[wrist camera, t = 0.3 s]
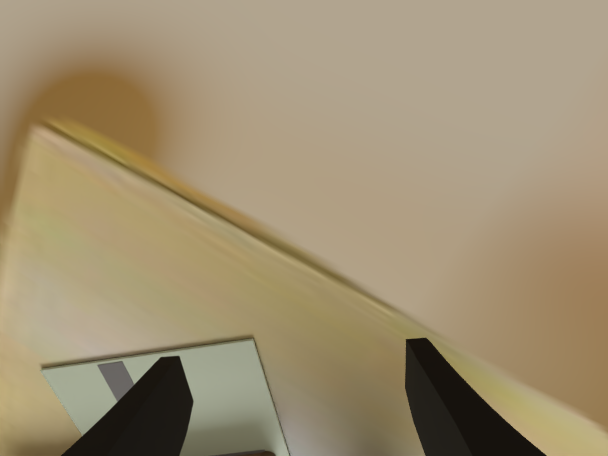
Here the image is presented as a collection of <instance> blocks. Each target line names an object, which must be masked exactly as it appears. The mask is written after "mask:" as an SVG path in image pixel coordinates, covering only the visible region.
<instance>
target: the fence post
mask: <svg viewBox="0 0 608 456" xmlns="http://www.w3.org/2000/svg"><path fill="white" fill-rule="evenodd" d="M238 456H276V455H275V454H274V453H273V452H271V451H265V452H262V453H256V454H247V455H238Z"/></svg>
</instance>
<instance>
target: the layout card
mask: <svg viewBox="0 0 608 456" xmlns="http://www.w3.org/2000/svg"><path fill="white" fill-rule="evenodd" d="M167 356H180V359H181V362H182V366H183V369H184V372H185V375H186V378H187V382H188V385H189V388H190V391H191V394H192V398H193V401H194V403H193V408H192V412H191V417H190V422H189V426H188V430H187V434H186V438H185V441H184V444H183V447H182V450H181V453H180V455H179V456H238V455H247V454H256V453H262V452H265V451H271V452H273V453H274V454H275V455H276V456H290V455H289V452H288V448H287V445H286V442H285V439H284V435H283V432H282V429H281V426H280V423H279V419H278V416H277V413H276V410H275V406H274V403H273V400H272V397H271V394H270V390H269V387H268V384H267V381H266V377H265V374H264V371H263V368H262V365H261V361H260V358H259V355H258V352H257V348H256V345H255V342H254V339H253V338H251V339H244V340H237V341H230V342H223V343H216V344H209V345H202V346H195V347H188V348H181V349H174V350H167V351H160V352H153V353H146V354H140V355H133V356H126V357H119V358H112V359H105V360H98V361H91V362H84V363H77V364H70V365H63V366H56V367H49V368H42V369H41V370H40V371H41V373H42V374H43V376H44V377H45V379H46V380H47V382H48V384H49V385H50V387H51V388H52V390H53V391H54V393H55V394H56V396H57V397H58V399H59V401H60V402H61V404H62V405H63V407H64V408H65V410H66V411H67V413H68V414H69V416H70V417H71V419H72V421H73V422H74V424H75V425H76V427H77V428H78V430H79V431H80V433H81V434H82V436H83V435H84V434H85V433H86V432H87V431H88V430H89V429H90V428H91V427H92V426H93V425H95V424H96V423H97V422H98V421H99V420H100V419H101V418H102V417H103V416H104V415H105V414H106V413H107V412H108V411H109V410H110V409H111V408H112V407H113V406H114V405H115V404H116V403H117V402H118V401H119V400H120V399H121V398H122V397H123V396H124V395H125V394H126V393H127V392H128V391H129V390H130V389H131V387H132V386H133V385H134V384H135V383H136V382H137V381H138V380H139V379H140V378H141V377H142V376H143V375H144V374H145V373H146V372H147V371H148V370H149V369H150V368H151V366H152V365H153V364H154V363H155V362H156V361H157V360H158V359H159V358H160V357H167Z"/></svg>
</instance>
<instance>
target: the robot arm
mask: <svg viewBox="0 0 608 456" xmlns="http://www.w3.org/2000/svg"><path fill="white" fill-rule="evenodd" d="M405 389H406V393H407V397H408V402H409V406H410V410H411V414H412V418H413V422H414V424H415V427H416V430H417V433H418V436H419V439H420V441H421V444H422V447H423V450H424V453H425V455H426V456H546V455H545V454H544V453H543V452H541V451H540V450H539V449H538V448H537V447H535V446H534V445H533V444H532V443H531V442H529V441H528V440H527V439H526V438H525V437H523V436H522V435H521V434H520V433H519V432H518V431H517V430H515V429H514V428H513V427H512V426H511V425H510V424H509V423H508V422H506V421H505V420H504V419H503V418H502V417H501V416H500V415H499V414H498V413H497V412H496V411H495V410H494V409H493V408H491V407H490V406H489V405H488V404H487V403H486V402H485V401H484V400H483V399H482V398H481V397H480V396H479V395H478V394H477V393H476V392H475V391H474V390H473V389H472V388H471V387H470V385H469V384H468V383H467V382H466V381H465V380H464V379H463V378H462V377H461V376H460V375H459V374H458V373H457V372H456V371H455V370H454V368H453V367H452V366H451V365H450V364H449V363H448V362H447V361H446V360H445V358H444V357H443V356H442V355H441V354H440V353H439V351H438V350H437V349H436V348H435V347H434V346H433V344H432V343H431V342H430V341H429V340H428V339H427V338H417V339H406V373H405ZM193 403H194V401H193V398H192V394H191V391H190V388H189V385H188V382H187V378H186V375H185V372H184V369H183V366H182V362H181V359H180V356H167V357H160V358H159V359H158V360H157V361H156V362H155V363H154V364H153V365H152V366H151V368H150V369H149V370H148V371H147V372H146V373H145V374H144V375H143V376H142V377H141V378H140V379H139V380H138V381H137V382H136V383H135V384H134V385H133V386H132V387H131V389H130V390H129V391H128V392H127V393H126V394H125V395H124V396H123V397H122V398H121V399H120V400H119V401H118V402H117V403H116V404H115V405H114V406H113V407H112V408H111V409H110V410H109V411H108V412H107V413H106V414H105V415H104V416H103V417H102V418H101V419H100V420H99V421H98V422H97V423H96V424H95V425H93V426H92V427H91V428H90V429H89V430H88V431H87V432H86V433H85V434H84V435H83V436H82V437H81V438H80V439H79V440H78V441H77V442H76V443H75V444H73V445H72V446H71V447H70V448H69V449H68V450H67V451H66V452H65V453H63V454H62V455H61V456H179V455H180V453H181V450H182V447H183V444H184V441H185V438H186V434H187V430H188V426H189V422H190V417H191V412H192V408H193Z"/></svg>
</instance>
